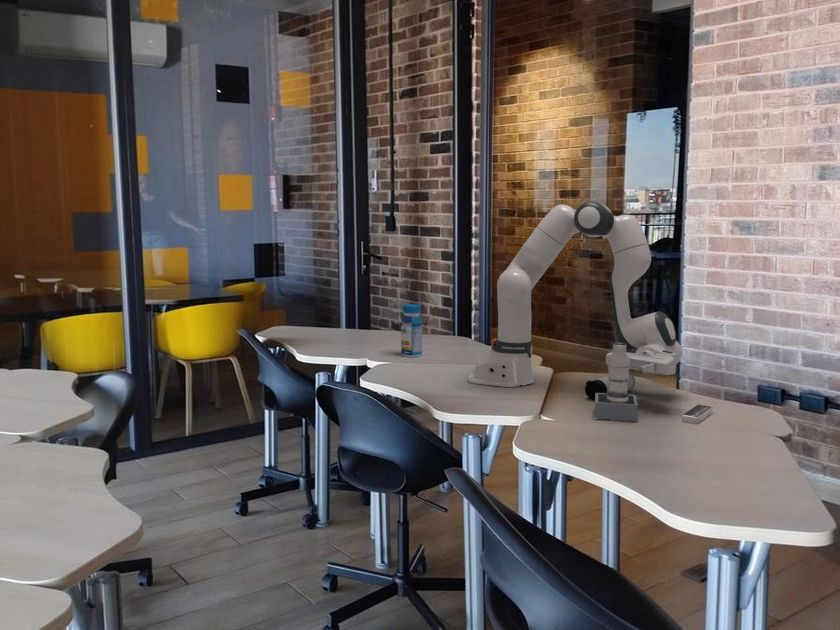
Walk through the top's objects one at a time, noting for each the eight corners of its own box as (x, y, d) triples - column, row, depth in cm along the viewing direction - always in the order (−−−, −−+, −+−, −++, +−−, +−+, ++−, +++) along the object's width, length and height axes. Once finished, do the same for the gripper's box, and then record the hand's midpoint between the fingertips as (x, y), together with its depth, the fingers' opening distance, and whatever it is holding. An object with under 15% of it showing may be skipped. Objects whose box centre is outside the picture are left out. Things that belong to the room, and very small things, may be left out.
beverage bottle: (422, 357, 309) (422, 306, 305) (400, 357, 309) (400, 306, 306) (422, 353, 317) (422, 303, 314) (401, 353, 317) (401, 303, 314)
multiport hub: (681, 422, 226) (681, 414, 226) (697, 411, 238) (697, 404, 238) (696, 425, 224) (697, 417, 224) (712, 414, 235) (713, 406, 235)
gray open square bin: (594, 419, 228) (595, 402, 227) (594, 408, 239) (595, 392, 238) (636, 421, 225) (637, 405, 225) (634, 411, 237) (635, 395, 236)
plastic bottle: (615, 416, 228) (618, 347, 225) (600, 410, 234) (603, 343, 231) (633, 413, 231) (636, 345, 228) (618, 407, 237) (621, 341, 234)
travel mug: (628, 366, 260) (593, 376, 246) (639, 384, 258) (604, 395, 244) (614, 376, 264) (579, 386, 250) (625, 393, 262) (590, 404, 248)
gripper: (619, 344, 251) (596, 351, 241) (681, 354, 237) (659, 361, 227) (618, 364, 252) (595, 371, 242) (680, 375, 238) (658, 382, 228)
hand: (627, 366), depth 234 cm, fingers open, 8 cm apart
